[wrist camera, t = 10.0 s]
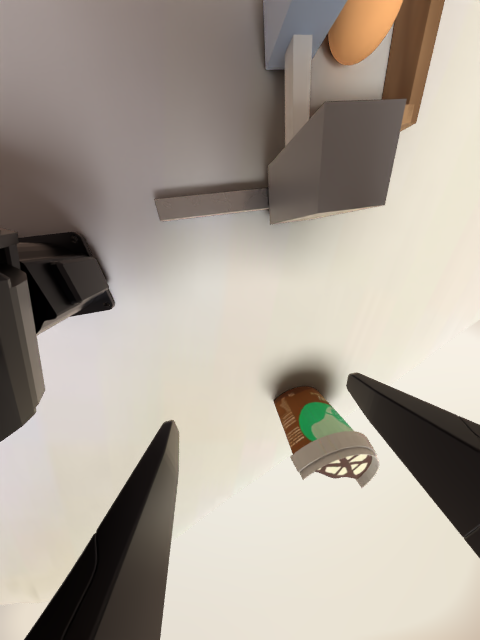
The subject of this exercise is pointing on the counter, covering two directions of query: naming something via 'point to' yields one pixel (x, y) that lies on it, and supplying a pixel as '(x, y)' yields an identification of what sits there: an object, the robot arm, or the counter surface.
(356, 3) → the ball
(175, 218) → the rail
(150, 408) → the counter surface
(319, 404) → the food container
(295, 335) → the counter surface
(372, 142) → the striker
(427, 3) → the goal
